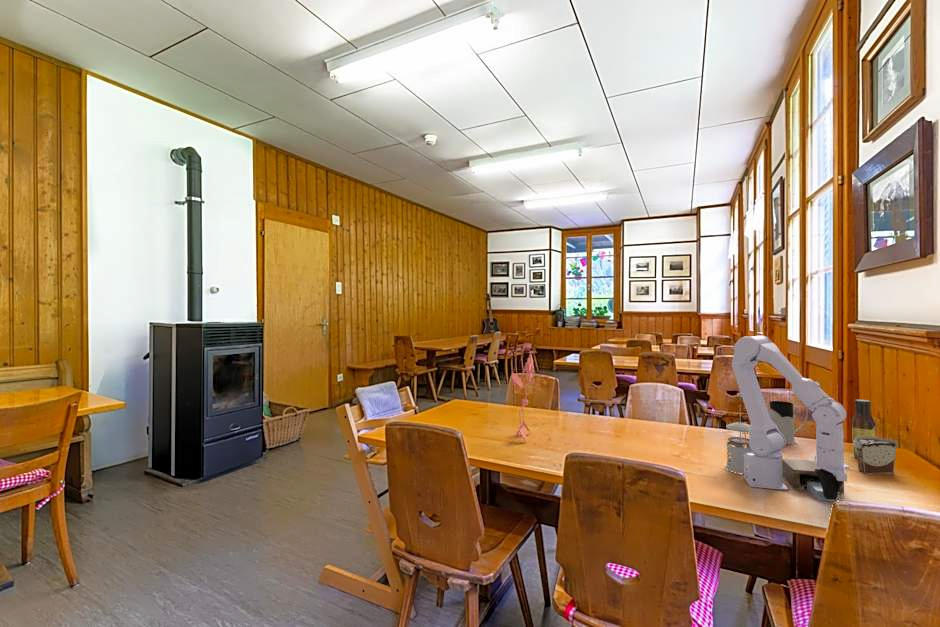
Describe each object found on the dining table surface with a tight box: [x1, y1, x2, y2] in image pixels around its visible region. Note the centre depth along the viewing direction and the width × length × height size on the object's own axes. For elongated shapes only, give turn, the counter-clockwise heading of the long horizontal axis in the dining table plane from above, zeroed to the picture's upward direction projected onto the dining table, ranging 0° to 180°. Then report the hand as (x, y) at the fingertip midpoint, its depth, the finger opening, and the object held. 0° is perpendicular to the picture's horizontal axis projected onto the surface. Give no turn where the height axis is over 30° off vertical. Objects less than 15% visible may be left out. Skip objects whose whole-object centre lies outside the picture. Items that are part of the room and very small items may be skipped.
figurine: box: [511, 353, 536, 441], centre depth 183 cm, size 15×26×35 cm, turn 163°
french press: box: [724, 392, 753, 474], centre depth 145 cm, size 10×12×25 cm
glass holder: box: [768, 400, 809, 445], centre depth 174 cm, size 9×14×15 cm, turn 88°
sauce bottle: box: [851, 399, 877, 459], centre depth 153 cm, size 7×6×20 cm
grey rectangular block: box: [806, 481, 840, 502], centre depth 124 cm, size 5×7×2 cm
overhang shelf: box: [782, 458, 845, 494], centre depth 132 cm, size 12×10×6 cm
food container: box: [852, 436, 899, 475], centre depth 142 cm, size 12×6×10 cm, turn 92°
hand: (830, 498), depth 120 cm, fingers closed
